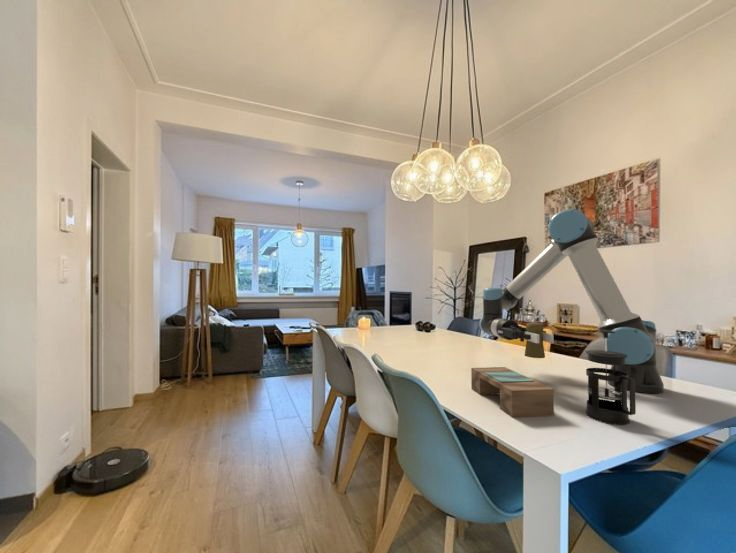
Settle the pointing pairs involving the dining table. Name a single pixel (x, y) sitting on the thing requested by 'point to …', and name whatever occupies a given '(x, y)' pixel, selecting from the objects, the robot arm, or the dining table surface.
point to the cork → (533, 348)
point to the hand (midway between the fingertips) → (545, 338)
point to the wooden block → (514, 391)
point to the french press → (605, 408)
